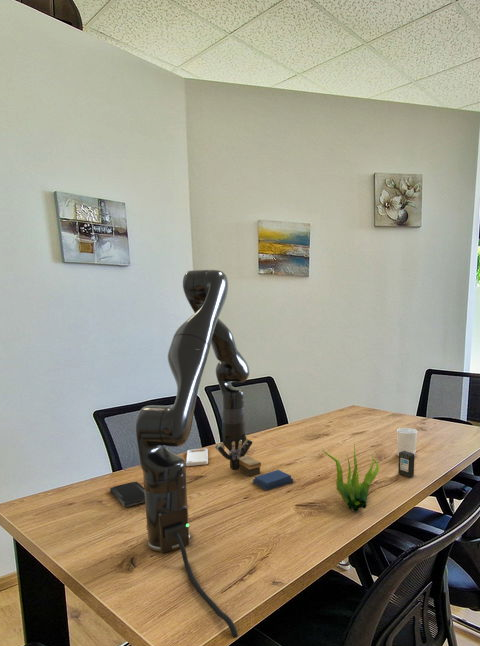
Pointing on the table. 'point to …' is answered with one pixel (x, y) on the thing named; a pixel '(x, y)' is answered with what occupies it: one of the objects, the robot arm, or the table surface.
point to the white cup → (406, 440)
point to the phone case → (197, 457)
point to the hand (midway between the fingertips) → (234, 469)
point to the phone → (129, 494)
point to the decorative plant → (354, 484)
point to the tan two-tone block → (249, 465)
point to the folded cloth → (272, 479)
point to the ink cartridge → (406, 463)
